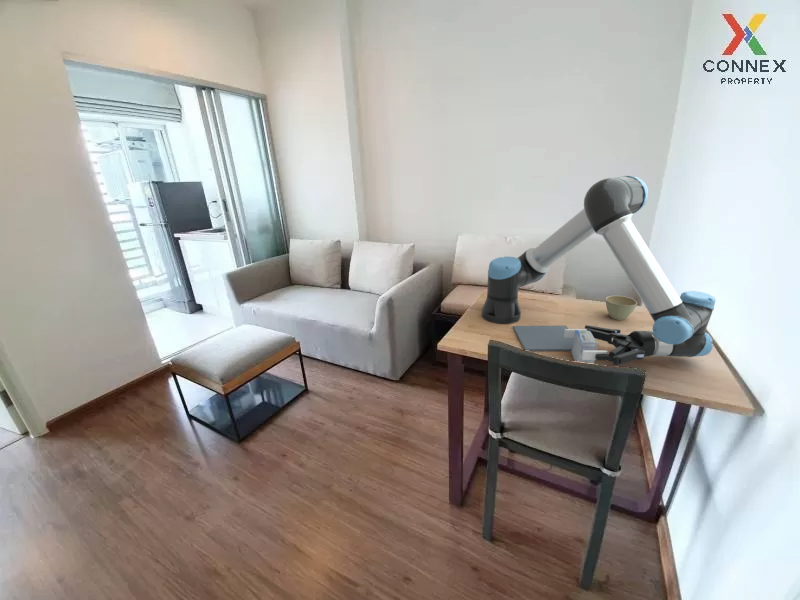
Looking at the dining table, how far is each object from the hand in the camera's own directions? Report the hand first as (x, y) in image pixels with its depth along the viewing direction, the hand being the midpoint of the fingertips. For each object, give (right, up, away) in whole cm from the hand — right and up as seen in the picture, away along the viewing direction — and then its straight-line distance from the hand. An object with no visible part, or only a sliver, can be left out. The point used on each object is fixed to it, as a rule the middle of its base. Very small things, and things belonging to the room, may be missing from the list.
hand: (572, 343), depth 100 cm
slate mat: (-1, 0, +15) cm, 15 cm away
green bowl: (+32, +6, +28) cm, 43 cm away
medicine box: (+4, -6, +2) cm, 7 cm away
